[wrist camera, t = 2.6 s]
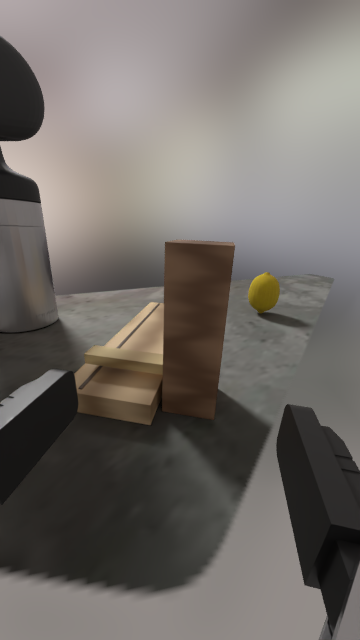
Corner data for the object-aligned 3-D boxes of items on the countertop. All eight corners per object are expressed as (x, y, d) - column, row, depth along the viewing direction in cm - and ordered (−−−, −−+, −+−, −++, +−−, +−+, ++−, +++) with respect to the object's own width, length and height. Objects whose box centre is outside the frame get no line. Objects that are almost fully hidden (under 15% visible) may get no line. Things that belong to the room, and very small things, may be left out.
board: (60, 409, 20) (56, 388, 20) (150, 312, 44) (150, 301, 43) (150, 425, 19) (150, 404, 18) (193, 316, 43) (193, 305, 42)
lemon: (253, 318, 43) (261, 275, 41) (241, 308, 49) (246, 269, 46) (281, 317, 44) (289, 275, 42) (265, 308, 50) (272, 270, 47)
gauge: (80, 397, 22) (58, 236, 17) (103, 370, 26) (92, 235, 21) (213, 420, 20) (234, 245, 15) (216, 387, 24) (233, 242, 19)
